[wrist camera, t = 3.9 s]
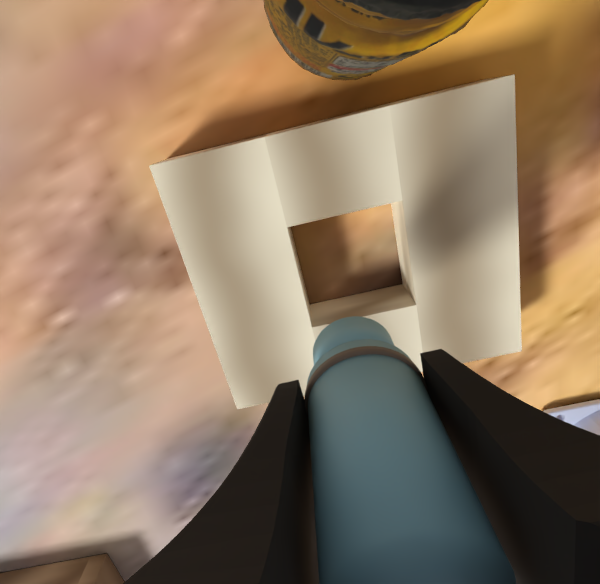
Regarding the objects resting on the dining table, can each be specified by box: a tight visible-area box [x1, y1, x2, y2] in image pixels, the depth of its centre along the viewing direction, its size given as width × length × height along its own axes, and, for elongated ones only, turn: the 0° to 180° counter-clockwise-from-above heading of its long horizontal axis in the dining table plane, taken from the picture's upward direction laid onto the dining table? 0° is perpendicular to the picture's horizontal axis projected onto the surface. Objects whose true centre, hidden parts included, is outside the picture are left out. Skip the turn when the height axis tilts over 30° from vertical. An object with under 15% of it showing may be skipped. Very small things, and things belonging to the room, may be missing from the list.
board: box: [149, 74, 522, 409], centre depth 19 cm, size 14×12×2 cm
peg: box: [305, 316, 516, 584], centre depth 11 cm, size 4×4×8 cm
